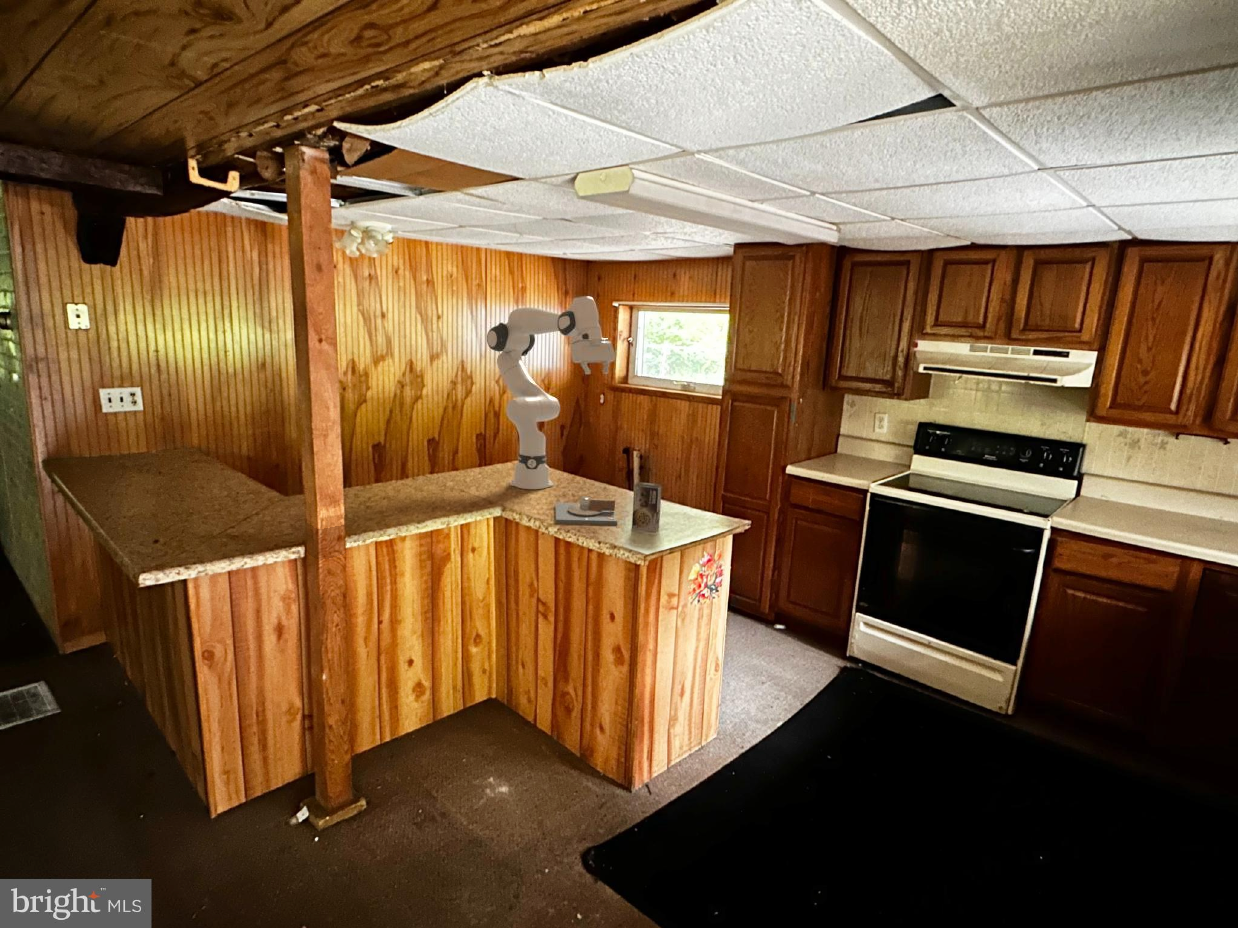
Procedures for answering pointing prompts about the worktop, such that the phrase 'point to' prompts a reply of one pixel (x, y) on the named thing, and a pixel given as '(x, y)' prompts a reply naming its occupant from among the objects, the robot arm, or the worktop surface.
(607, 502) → the dial
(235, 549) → the worktop surface
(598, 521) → the dial plate
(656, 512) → the coffee box
